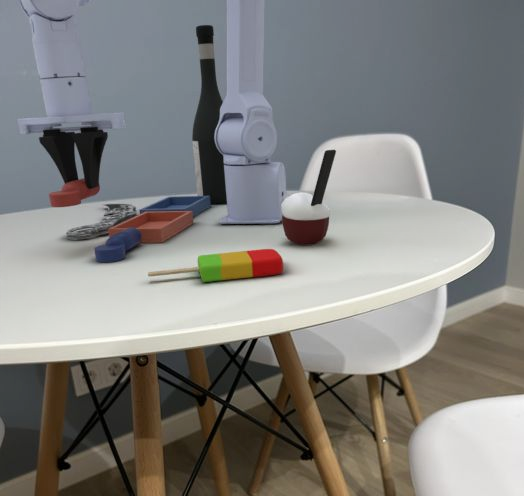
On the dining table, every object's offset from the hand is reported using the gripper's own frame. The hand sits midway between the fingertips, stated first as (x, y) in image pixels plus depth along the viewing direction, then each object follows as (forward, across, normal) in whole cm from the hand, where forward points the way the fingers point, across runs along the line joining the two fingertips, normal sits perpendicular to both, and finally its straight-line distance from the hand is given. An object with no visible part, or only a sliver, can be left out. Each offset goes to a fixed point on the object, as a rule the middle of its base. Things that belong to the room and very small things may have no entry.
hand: (82, 187), depth 79 cm
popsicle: (+8, +23, -13) cm, 27 cm away
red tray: (+8, +6, +9) cm, 13 cm away
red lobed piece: (+1, 0, -2) cm, 2 cm away
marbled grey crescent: (+8, -6, +18) cm, 21 cm away
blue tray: (+8, +4, +24) cm, 25 cm away
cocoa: (+8, +31, +2) cm, 32 cm away
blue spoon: (+8, +6, -4) cm, 11 cm away
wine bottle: (+8, +8, +36) cm, 38 cm away
